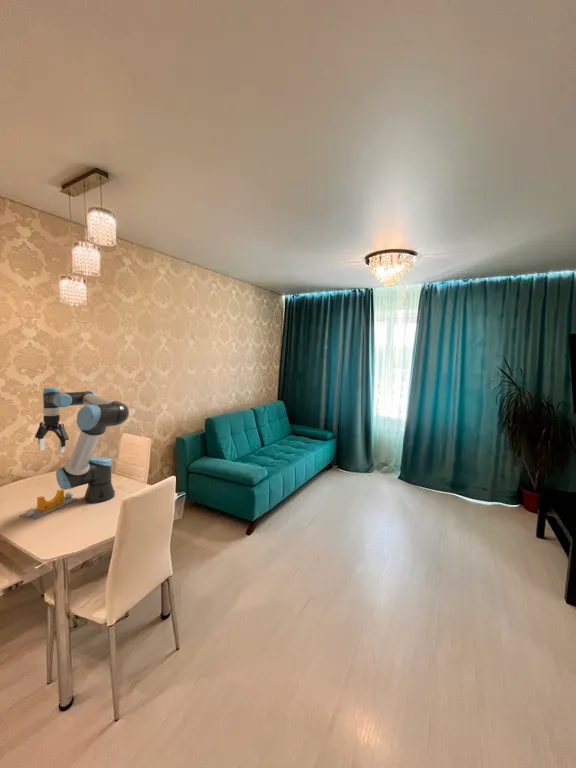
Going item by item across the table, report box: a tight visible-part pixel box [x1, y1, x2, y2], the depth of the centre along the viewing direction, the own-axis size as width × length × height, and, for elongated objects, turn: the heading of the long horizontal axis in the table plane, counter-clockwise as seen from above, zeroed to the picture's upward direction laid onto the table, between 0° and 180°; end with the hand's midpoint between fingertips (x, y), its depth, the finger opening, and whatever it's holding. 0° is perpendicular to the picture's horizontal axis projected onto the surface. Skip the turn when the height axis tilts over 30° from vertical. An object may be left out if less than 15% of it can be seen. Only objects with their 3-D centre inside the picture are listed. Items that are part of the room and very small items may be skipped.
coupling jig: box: [19, 491, 79, 520], centre depth 170 cm, size 10×24×4 cm, turn 168°
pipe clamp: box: [36, 488, 65, 511], centre depth 171 cm, size 12×4×6 cm, turn 160°
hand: (51, 451), depth 185 cm, fingers open, 13 cm apart
